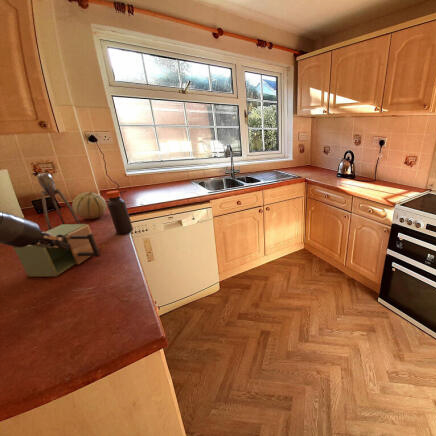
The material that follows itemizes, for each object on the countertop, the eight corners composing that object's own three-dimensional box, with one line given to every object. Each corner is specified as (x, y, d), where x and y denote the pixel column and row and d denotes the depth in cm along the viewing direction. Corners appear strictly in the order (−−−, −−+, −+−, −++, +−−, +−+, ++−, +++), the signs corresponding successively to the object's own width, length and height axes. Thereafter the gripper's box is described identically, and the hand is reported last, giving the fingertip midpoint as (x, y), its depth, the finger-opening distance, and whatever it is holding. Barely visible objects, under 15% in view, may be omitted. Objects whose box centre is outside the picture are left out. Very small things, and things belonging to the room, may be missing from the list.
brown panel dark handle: (76, 264, 91) (64, 236, 86) (95, 252, 99) (85, 226, 94) (99, 264, 90) (88, 235, 86) (115, 252, 99) (106, 225, 94)
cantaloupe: (84, 215, 141) (75, 190, 135) (113, 211, 145) (105, 187, 139) (72, 224, 128) (61, 197, 122) (104, 220, 132) (95, 194, 126)
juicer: (84, 233, 117) (60, 171, 106) (53, 241, 109) (24, 176, 98) (81, 228, 123) (58, 169, 112) (51, 235, 116) (24, 173, 104)
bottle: (127, 228, 122) (115, 189, 114) (136, 229, 119) (124, 190, 112) (113, 233, 116) (99, 193, 109) (123, 235, 114) (109, 194, 106)
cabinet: (28, 276, 85) (12, 246, 80) (72, 250, 101) (61, 224, 97) (58, 276, 84) (44, 245, 80) (98, 250, 101) (88, 224, 96)
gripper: (38, 215, 65) (90, 236, 81) (-10, 216, 65) (51, 236, 81) (26, 242, 62) (82, 258, 78) (-24, 243, 62) (42, 259, 78)
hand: (66, 247), depth 79 cm, fingers closed
